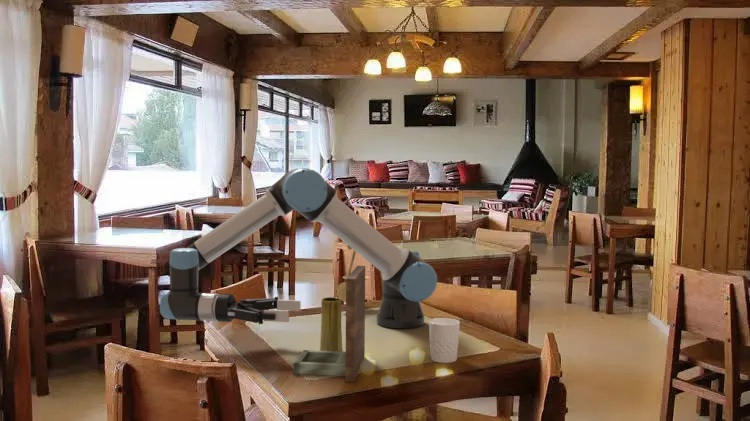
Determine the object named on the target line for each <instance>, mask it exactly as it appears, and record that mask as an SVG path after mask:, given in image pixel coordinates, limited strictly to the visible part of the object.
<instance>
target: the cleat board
mask: <svg viewBox="0 0 750 421" xmlns="http://www.w3.org/2000/svg"><path fill="white" fill-rule="evenodd" d="M365 276H366V265H357V266H356V267H355V268H354V269H353V270H352V271H351V274H350V275H349V276H348V277H347V278H346V280H345V282H346V302H345V351H342V352H341V351H320V350H312V349H310V350H309V349H303V350H302V352H301V353H300V354H299V356H298V357H297V358H296V360H295V361H294V362H293V364H292V366H293V368H292V369H293V373H292V374H294V375H298V374H299V375H311V376H312V375H317V376H318V375H319V376H335V377H336V376H338V377H339V376H340V377H344V378H345V383H355V381H356V378H357V376H358V374H359V371H360V369H361V366H362V364H363V362H364V359H365V354H366V352H365V351H366V350H365V348H366V347H365V346H366V345H365V343H366V342H365V341H366V340H365V339H366V337H365V335H366V334H365V333H366V332H365V331H366V330H365V329H366V328H365V327H366V324H365V323H366V280H365Z"/></svg>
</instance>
